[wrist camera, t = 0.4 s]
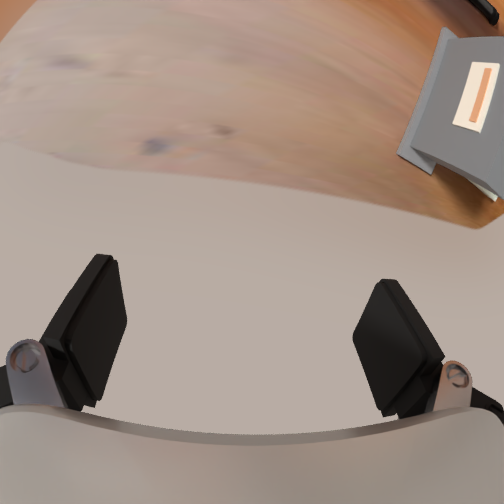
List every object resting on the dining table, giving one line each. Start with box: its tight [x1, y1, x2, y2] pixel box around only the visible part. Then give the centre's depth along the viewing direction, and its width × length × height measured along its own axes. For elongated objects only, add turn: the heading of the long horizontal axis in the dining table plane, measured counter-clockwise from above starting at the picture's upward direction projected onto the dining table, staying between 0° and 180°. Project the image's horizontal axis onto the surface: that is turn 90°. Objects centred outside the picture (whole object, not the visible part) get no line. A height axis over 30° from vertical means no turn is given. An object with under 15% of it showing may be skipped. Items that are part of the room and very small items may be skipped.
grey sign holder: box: [396, 27, 504, 200], centre depth 24 cm, size 24×7×17 cm, turn 161°
